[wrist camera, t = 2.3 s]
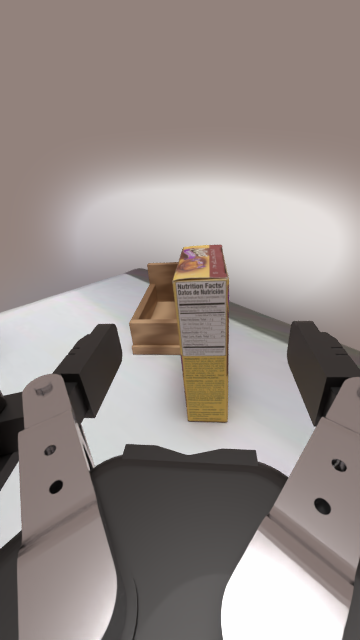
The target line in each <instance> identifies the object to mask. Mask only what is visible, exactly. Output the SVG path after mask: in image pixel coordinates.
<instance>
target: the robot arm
mask: <svg viewBox="0 0 360 640" xmlns="http://www.w3.org/2000/svg"><path fill="white" fill-rule="evenodd" d="M287 360H288V364H289V367H290V369H291V372H292V374H293V377H294V379H295V381H296V384H297V386H298V389H299V391H300V394H301V396H302V399H303V401H304V403H305V406H306V408H307V411H308V413H309V416H310V418H311V421H312V423H313V425H314V426H316V428H315V430H314V432H313V434H312V436H311V438H310V439H309V441H308V443H307V445H306V447H305V449H304V450H303V452H302V454H301V456H300V458H299V460H298V461H297V463H296V465H295V467H294V469H293V471H292V472H291V474H290V476H289V478H288V477H287V476H286V475H284V474H283V473H281V472H280V471H278V470H276V469H275V468H273V467H271V466H268V465H266V464H264V463H261V462H258V461H257V455H256V450H240V449H218V450H213V451H208V452H203V453H198V454H193V455H185V454H182V453H178V452H175V451H172V450H169V449H166V448H163V447H159V446H155V445H134V444H126V446H125V449H124V452H123V455H120V456H116V457H113V458H111V459H108V460H106V461H104V462H102V463H101V464H99V465H97V466H96V467H95V465H94V462H93V459H92V456H91V453H90V449H89V446H88V443H87V440H86V437H85V434H84V431H83V428H82V425H81V423H82V421H83V419H84V418H95V417H96V415H97V413H98V411H99V408H100V406H101V404H102V402H103V400H104V398H105V396H106V394H107V392H108V390H109V387H110V385H111V383H112V381H113V379H114V377H115V375H116V373H117V371H118V369H119V366H120V364H121V362H122V349H121V344H120V340H119V336H118V332H117V328H116V325H115V324H98V325H97V326H96V327H95V329H94V330H93V331H92V332H91V334H87V335H86V336H85V337H83V338H82V339H80V340H79V341H78V342H77V343H76V344H75V346H74V347H73V349H71V351H70V352H69V353H68V355H67V356H66V357H65V358H64V359H63V361H62V362H61V363H60V364H59V366H58V367H57V368H56V369H55V371H54V372H53V373H52V374H48V375H44V376H41V377H38V378H36V379H35V380H33V381H31V382H30V383H29V384H28V385H27V386H26V387H25V388H24V390H23V392H19V393H14V394H10V395H5V396H3V395H2V393H1V391H0V491H1V489H2V487H3V486H4V484H5V482H6V481H7V479H8V477H9V476H10V474H11V473H12V471H13V469H14V468H15V466H16V464H17V463H18V461H19V473H20V497H21V521H22V530H21V531H20V532H19V533H18V534H17V535H16V536H14V537H13V538H12V539H11V540H10V541H9V542H8V543H6V544H5V545H4V546H3V547H2V548H1V549H0V640H360V369H359V368H358V367H357V365H356V364H355V363H354V361H353V360H352V359H351V357H350V356H348V354H347V352H346V351H345V350H344V349H343V347H342V346H341V344H340V343H339V342H338V340H337V339H336V338H334V337H332V336H331V335H329V334H328V333H326V332H320V331H319V330H318V328H317V327H316V325H315V324H314V322H313V321H293V322H292V324H291V330H290V336H289V343H288V349H287Z"/></svg>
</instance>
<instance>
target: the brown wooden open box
mask: <svg viewBox="0 0 360 640" xmlns="http://www.w3.org/2000/svg"><path fill="white" fill-rule="evenodd" d="M177 265H178V262H173V263H149V264H148V265H147V267H148V274H149V281H150V285H149V287H148V289H147V291H146V293H145V294H144V296H143V298H142V300H141V302H140V304H139V306H138V308H137V309H136V311H135V313H134V315H133V317H132V319H131V321H130V323H129V326H130V331H131V336H132V341H133V346H132V350H133V354H163V355H181V354H180V345H179V335H178V325H177V316H176V307H175V299H174V291H173V283H172V281H173V278H174V275H175V271H176V268H177Z"/></svg>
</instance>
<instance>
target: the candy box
mask: <svg viewBox="0 0 360 640" xmlns="http://www.w3.org/2000/svg"><path fill="white" fill-rule="evenodd" d="M172 283H173V291H174V299H175V307H176V316H177V325H178V335H179V345H180V354H181V363H182V371H183V381H184V389H185V398H186V407H187V416H188V421H204V422H227V419H228V342H229V277H228V273H227V269H226V265H225V260H224V255H223V250H222V245H203V246H190V247H184V248H183V249H182V252H181V255H180V259H179V262H178V265H177V268H176V271H175V275H174V278H173V281H172Z"/></svg>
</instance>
